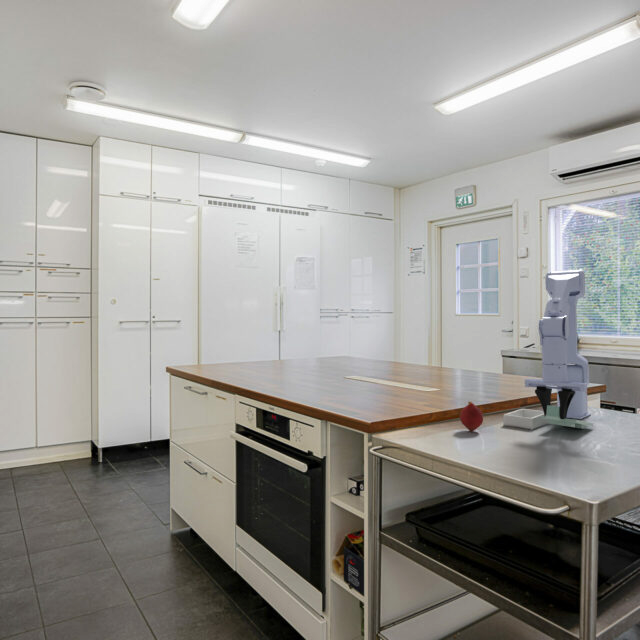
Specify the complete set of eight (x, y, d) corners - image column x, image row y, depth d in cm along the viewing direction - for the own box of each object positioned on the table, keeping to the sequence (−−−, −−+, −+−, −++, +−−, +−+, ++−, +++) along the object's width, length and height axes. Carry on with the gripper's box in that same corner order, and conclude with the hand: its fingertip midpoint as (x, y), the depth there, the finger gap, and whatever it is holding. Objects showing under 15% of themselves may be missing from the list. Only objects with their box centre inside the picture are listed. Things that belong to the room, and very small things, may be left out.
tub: (522, 418, 145) (522, 408, 145) (550, 422, 139) (550, 412, 139) (503, 425, 136) (503, 414, 136) (532, 429, 131) (531, 418, 131)
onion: (480, 428, 133) (479, 399, 133) (485, 433, 127) (484, 403, 127) (458, 428, 133) (458, 399, 133) (462, 433, 128) (462, 403, 128)
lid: (559, 425, 136) (560, 409, 137) (592, 430, 130) (593, 413, 131) (534, 421, 125) (535, 403, 126) (569, 426, 119) (570, 407, 119)
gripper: (519, 363, 126) (520, 416, 126) (579, 366, 116) (580, 424, 116) (530, 361, 131) (531, 412, 131) (589, 364, 121) (590, 419, 121)
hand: (555, 417), depth 124 cm, fingers closed on lid, 3 cm apart
